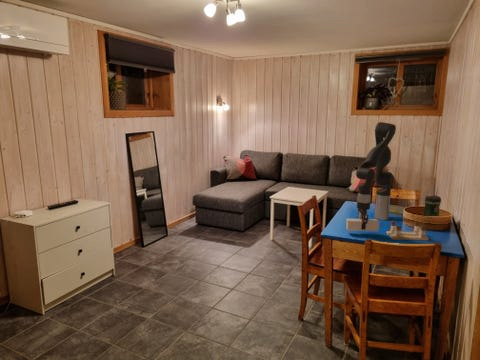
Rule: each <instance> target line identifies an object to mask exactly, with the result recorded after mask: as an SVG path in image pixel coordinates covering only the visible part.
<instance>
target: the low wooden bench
mask: <svg viewBox="0 0 480 360" xmlns="http://www.w3.org/2000/svg"><path fill="white" fill-rule="evenodd" d="M426 230H427V227H426V226H425V225H421V226H420V222H419V221H414V227H413V231H408V230H407V231H403V230H402V226H401V225H396V221H394V220H391V221H390V230H386V234H387V235H388V237H390V238H391V239H392V240H395V241H396V240H397V241H399V240H400V241H407V240H408V241H429V239H430V238H429V237H428V236H427V235H426Z"/></svg>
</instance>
